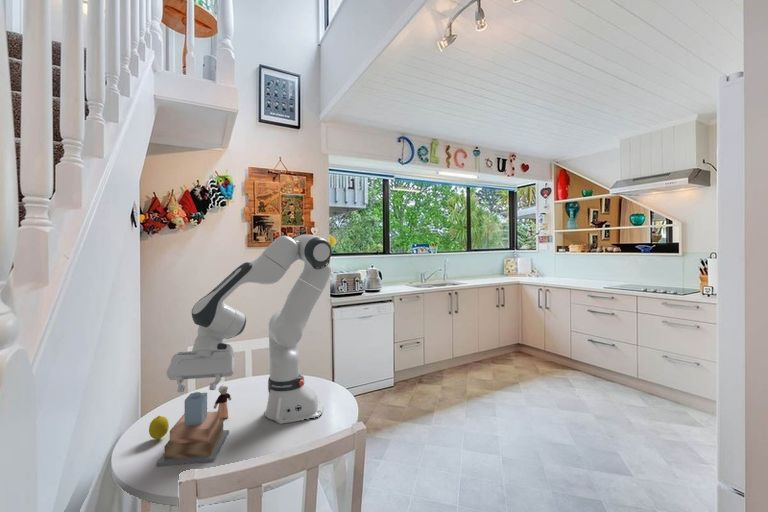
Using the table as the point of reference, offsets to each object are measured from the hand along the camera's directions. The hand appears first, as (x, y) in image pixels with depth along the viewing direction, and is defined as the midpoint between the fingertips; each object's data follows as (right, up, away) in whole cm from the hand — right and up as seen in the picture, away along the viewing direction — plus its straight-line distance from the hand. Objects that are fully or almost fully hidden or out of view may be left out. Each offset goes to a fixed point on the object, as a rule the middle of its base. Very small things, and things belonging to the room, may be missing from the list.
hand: (196, 390), depth 109 cm
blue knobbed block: (-1, -10, +1) cm, 10 cm away
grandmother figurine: (-1, -19, +20) cm, 28 cm away
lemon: (-16, -19, +6) cm, 25 cm away
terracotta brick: (-1, -18, +1) cm, 18 cm away
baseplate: (-1, -19, +1) cm, 19 cm away
